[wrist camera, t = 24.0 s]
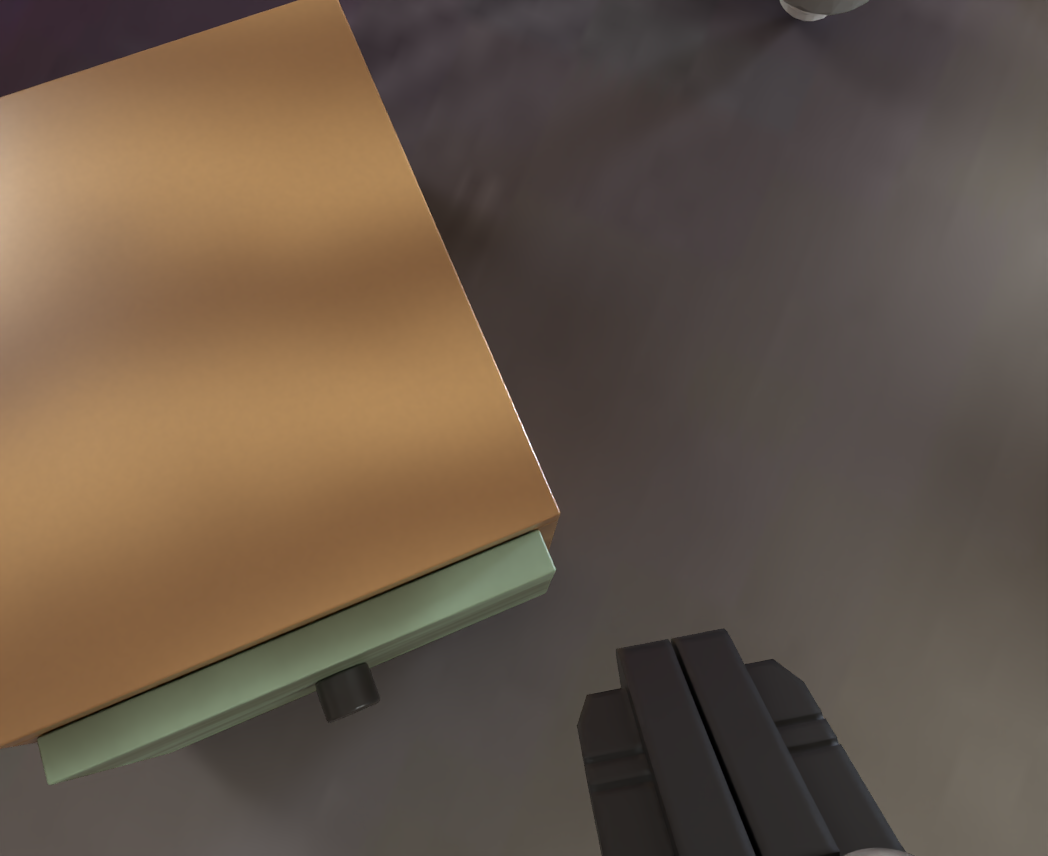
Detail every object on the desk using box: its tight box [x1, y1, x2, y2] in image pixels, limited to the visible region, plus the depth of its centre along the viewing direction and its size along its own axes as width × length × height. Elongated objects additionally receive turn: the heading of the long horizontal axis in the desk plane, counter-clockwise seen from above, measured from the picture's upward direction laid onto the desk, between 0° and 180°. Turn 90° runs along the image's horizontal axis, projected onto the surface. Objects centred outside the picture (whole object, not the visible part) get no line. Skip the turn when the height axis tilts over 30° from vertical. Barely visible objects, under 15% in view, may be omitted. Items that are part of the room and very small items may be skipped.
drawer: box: [37, 530, 556, 785], centre depth 26 cm, size 18×13×7 cm
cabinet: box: [0, 0, 560, 749], centre depth 27 cm, size 18×15×9 cm
